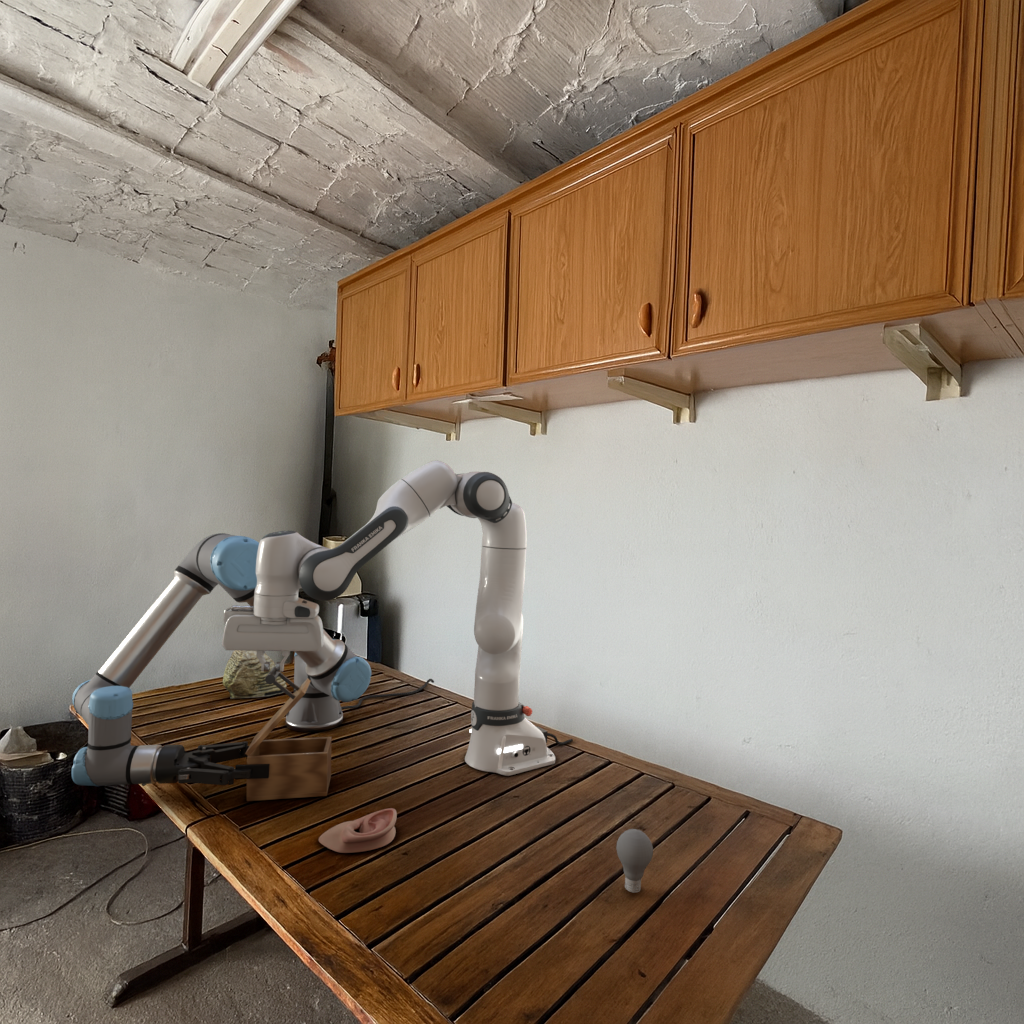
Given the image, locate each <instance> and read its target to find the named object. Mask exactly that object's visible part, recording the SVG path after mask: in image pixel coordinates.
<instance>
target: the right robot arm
mask: <svg viewBox="0 0 1024 1024" xmlns="http://www.w3.org/2000/svg"><path fill="white" fill-rule="evenodd" d="M444 507H446V508H447V509H449V510H450V511H451V512H453V513H454V514H455V515H456V514H457V515H458V516H461V517H466V518H470V519H477V520H478V521H479V523H480V526H481V530H482V538H481V550H480V551H481V552H480V566H479V567H480V569H479V582H478V589H477V595H476V596H477V597H476V604H475V615H474V625H473V635H474V639H475V642H476V644H477V645H478V646H477V655H476V663H475V664H476V665H475V669H474V688H473V689H474V690H473V691H474V692H473V700H472V703H471V710H470V725H471V728H470V729H469V733H470V736H469V743H468V746H467V750H466V753H465V755H464V761H465V763H466V764H467V765H468V766H469V767H471V768H473V769H475V770H479V771H482V772H487V773H488V772H489V773H496V774H498V775H502V776H506V777H509V776H513V775H516V774H517V775H518V774H522V773H524V772H528V771H533V770H537V769H540V768H544V767H547V766H551V765H555V764H556V755H555V753H554V752H553V751H552V750H551V749H550V748H549V747H548V746H547V744H548V737H551V738H553V739H554V742H555V743H556V744H557V745H559V746H564V745H568V744H570V743H572V742H574V739H573V738H569V739H567V740H565V741H559V740H558V737H557V736H556V735H555V734H553V733H550V732H548V730H547V729H546V730H545V729H544V728H542V727H540V726H538V725H535V724H534V723H532V722H531V721H530V720H529V719H527V718H526V717H531V716H532V714H533V713H534V712H533V709H532V708H531V707H530V706H528V705H524V704H523V703H521V702H520V699H519V698H520V682H521V681H520V680H521V679H520V678H521V677H520V676H521V665H522V663H521V662H522V651H523V650H522V649H523V635H524V615H523V613H522V612H523V601H524V591H525V583H526V581H525V580H526V563H527V562H526V560H527V549H528V548H527V544H528V534H527V533H528V532H527V521H526V514H525V510H524V509H523V508H522V506H520V505H519V504H517V503H515V502H513V500H512V498H511V496H510V493H509V489H508V487H507V485H506V483H505V481H504V480H503V479H502V478H501V477H500V476H498V475H496V474H495V473H493V472H489V471H469V472H465V473H455V471H454V469H453V468H451V466H450V465H448V464H447V463H445V462H444V461H442V460H435V459H434V460H430V461H429V462H426V463H424V464H423V465H420V466H419V467H418V466H417V468H415V469H413V470H411V471H410V472H408V473H407V474H405V475H404V476H402V477H401V478H399V479H398V480H397V481H395V482H394V483H393V484H392V485H390V486H389V487H388V488H387V489H386V490H385V492H383V494H382V495H381V496H380V497H379V498H378V500H377V503H376V508H375V511H374V513H373V515H372V517H371V518H370V519H369V520H368V521H367V523H366V524H365V525H363V526H362V527H360V528H359V529H358V530H357V531H356V532H354V533H353V534H352V535H351V536H350V537H348V538H347V539H345V541H343V542H341V543H340V544H339V545H338V546H336V547H333V548H329V547H328V546H327V547H326V546H324V545H320V544H318V543H315V542H314V541H311V540H309V539H308V538H306V537H305V536H302V535H301V534H300V533H299V532H298V531H296V530H279V531H273V532H270V533H267V534H265V535H263V536H262V537H261V539H260V540H259V546H258V551H257V558H256V577H257V585H256V588H255V592H254V606H250V605H231V606H230V607H228V608H226V609H225V610H224V611H223V618H222V619H223V620H222V622H223V625H224V630H223V634H222V644H221V646H222V648H223V649H224V650H225V651H235V650H244V651H257V654H256V656H257V658H258V659H259V661H260V663H261V664H262V665H261V671H263V672H264V671H269V670H270V662H266V660H265V658H264V656H263V655H264V654H265V653H266V652H281V656H282V657H283V658H282V659H281V661H276V663H275V665H276V669H275V671H276V672H281V673H282V672H284V669H285V663H286V661H287V659H288V658H289V656H290V655H291V652H295V651H319V650H320V649H321V648H322V647H323V641H324V636H323V629H324V625H323V621H322V618H321V617H320V616H319V612H320V605H319V604H318V603H316V602H313V601H311V600H308V599H304V598H301V597H299V590H300V589H302V590H303V593H305V594H306V595H307V596H308V597H310V598H312V599H313V600H316V601H321V602H322V601H330V600H335V599H337V598H339V597H340V596H342V595H343V594H344V593H345V592H346V590H347V589H348V588H349V586H350V584H351V583H352V581H353V579H354V577H355V575H356V574H357V573H358V572H359V571H360V569H361V568H362V567H363V566H365V565H366V564H367V563H368V562H369V561H370V560H371V559H373V558H374V557H375V556H376V555H378V554H379V553H380V552H381V551H382V550H384V548H386V547H387V546H388V545H390V544H391V543H392V542H394V541H395V540H397V539H398V538H400V537H401V536H403V535H405V534H406V533H408V532H410V531H412V530H413V529H415V528H417V527H419V525H421V524H422V523H424V522H425V521H427V520H428V519H429V518H431V517H432V516H433V515H434V514H435V513H437V511H439V510H441V509H443V508H444Z"/></svg>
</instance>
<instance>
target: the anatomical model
mask: <svg viewBox="0 0 1024 1024" xmlns="http://www.w3.org/2000/svg"><path fill="white" fill-rule="evenodd" d="M397 816H398V813H397V810H396V809H395V808H392V807H390V808H384V809H380V810H377V811H374V812H371V813H369V814H366V815H364V816H362V817H360V818H357V819H354V820H348V821H343V822H341V823H339V824H335V825H334V826H332V827H330V828H328V830H326V831H324V832H323V833H322V834H321V835H320V836H319V837H318V842H319V843H320V844H321V845H322V846H324V847H325V848H327V849H329V850H332V851H333V852H336V853H339V854H351V853H361V852H367V851H372V850H376V849H380V848H382V847H385V846H387V845H389V844H390V843H392V842H393V840H394V839H395V837H396V833H397V832H396V827H395V825H396V823H397V818H398V817H397Z"/></svg>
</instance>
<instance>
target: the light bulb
mask: <svg viewBox="0 0 1024 1024" xmlns="http://www.w3.org/2000/svg"><path fill="white" fill-rule="evenodd" d="M615 849H616V854H617V857H618V859H619V861H620V863H621V865H622V867H623V873H624V874H623V875H624V876H625V878H624V888H625V890H627V891H628V892H630V893H634V894H635V893H639V892H640V891H641V889H642V887H641V886H642V879H643V877H644V875H645V871H646V868H647V867H648V866H649V864H650V863H651V861H652V859H653V855H654V847H653V843H652V841H651V838H649V836H648V835H647V834H646V833H645V832H643V831H642V830H641V829H636V828H629V829H627V830H625V831H623V832H622V833H621V834H620V835H619V837H618V839H617V841H616V847H615Z"/></svg>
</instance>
